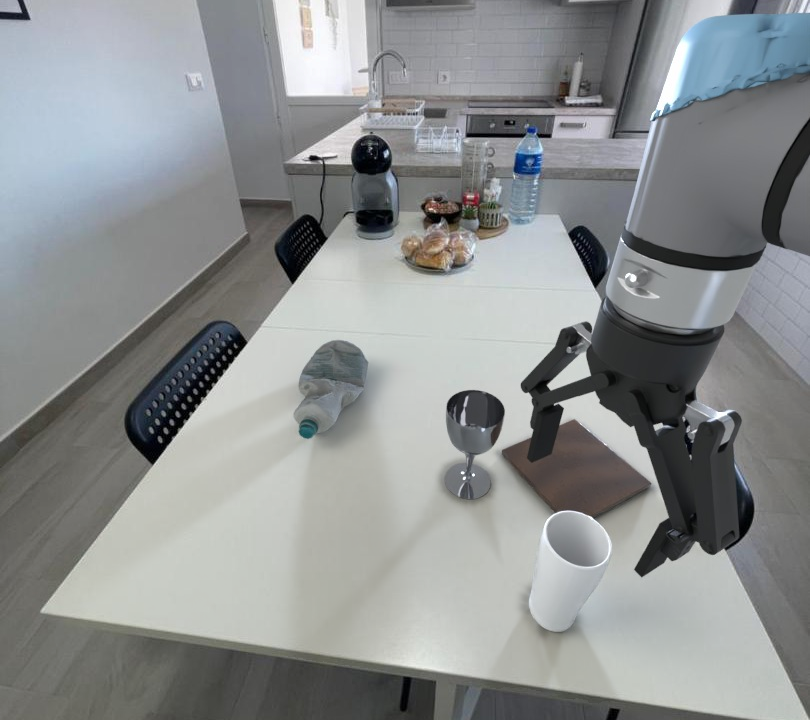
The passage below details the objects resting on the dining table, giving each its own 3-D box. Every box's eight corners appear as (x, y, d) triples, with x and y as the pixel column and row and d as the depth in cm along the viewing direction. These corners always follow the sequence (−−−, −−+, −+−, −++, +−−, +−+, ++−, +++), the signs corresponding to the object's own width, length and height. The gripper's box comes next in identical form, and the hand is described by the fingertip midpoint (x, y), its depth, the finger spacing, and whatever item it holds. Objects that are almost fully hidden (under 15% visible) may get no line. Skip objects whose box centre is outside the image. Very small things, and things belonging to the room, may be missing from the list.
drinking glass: (545, 651, 50) (574, 581, 41) (510, 596, 55) (529, 523, 46) (592, 625, 52) (629, 553, 44) (554, 574, 57) (580, 500, 49)
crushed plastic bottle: (316, 359, 96) (266, 441, 76) (315, 331, 92) (262, 410, 72) (376, 370, 95) (341, 456, 75) (377, 341, 91) (341, 424, 70)
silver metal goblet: (503, 479, 70) (516, 407, 61) (472, 511, 65) (482, 438, 56) (462, 453, 74) (469, 382, 66) (431, 481, 70) (434, 409, 61)
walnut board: (649, 487, 68) (651, 483, 68) (571, 530, 62) (572, 525, 62) (573, 422, 80) (574, 418, 79) (501, 453, 74) (501, 449, 74)
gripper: (501, 252, 37) (478, 433, 50) (856, 452, 19) (680, 657, 32) (569, 237, 40) (531, 412, 52) (935, 399, 22) (745, 607, 34)
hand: (587, 505), depth 42 cm, fingers open, 13 cm apart
